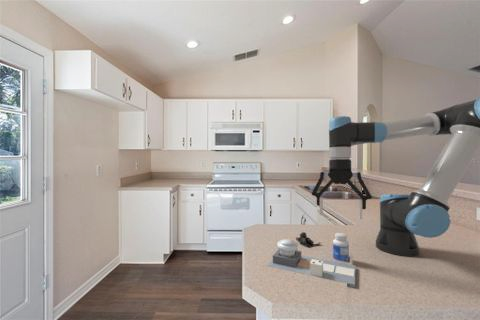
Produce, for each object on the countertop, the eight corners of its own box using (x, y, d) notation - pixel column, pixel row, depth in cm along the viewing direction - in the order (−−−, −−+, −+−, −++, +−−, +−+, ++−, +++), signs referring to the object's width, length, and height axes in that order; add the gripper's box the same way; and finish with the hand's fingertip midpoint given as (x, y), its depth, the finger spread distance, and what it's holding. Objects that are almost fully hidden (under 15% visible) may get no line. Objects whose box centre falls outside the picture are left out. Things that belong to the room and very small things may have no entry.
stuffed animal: (326, 245, 100) (307, 232, 96) (315, 266, 98) (295, 253, 94) (309, 236, 111) (291, 224, 107) (299, 255, 109) (280, 243, 105)
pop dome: (299, 254, 86) (299, 240, 86) (294, 261, 80) (294, 246, 80) (280, 251, 89) (280, 237, 89) (274, 257, 83) (274, 242, 83)
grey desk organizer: (355, 268, 80) (355, 254, 80) (354, 288, 68) (354, 271, 68) (279, 254, 93) (279, 242, 93) (267, 268, 80) (267, 255, 80)
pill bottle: (330, 257, 89) (330, 232, 89) (343, 257, 90) (343, 231, 90) (337, 264, 84) (337, 236, 84) (351, 263, 84) (351, 236, 84)
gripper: (378, 158, 84) (378, 217, 84) (307, 159, 96) (308, 211, 96) (379, 158, 78) (380, 222, 78) (303, 159, 89) (304, 214, 89)
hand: (340, 216), depth 87 cm, fingers open, 13 cm apart
